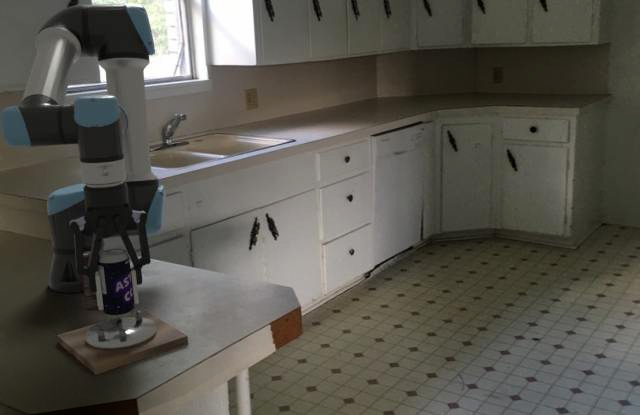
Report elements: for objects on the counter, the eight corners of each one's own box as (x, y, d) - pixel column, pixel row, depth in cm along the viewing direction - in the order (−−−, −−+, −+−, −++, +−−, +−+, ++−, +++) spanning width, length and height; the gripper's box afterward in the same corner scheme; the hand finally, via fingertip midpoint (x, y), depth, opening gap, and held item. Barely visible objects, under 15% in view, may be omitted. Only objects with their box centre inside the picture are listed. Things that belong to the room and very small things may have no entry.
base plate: (57, 342, 130) (56, 335, 130) (144, 316, 141) (143, 309, 141) (95, 374, 117) (94, 366, 116) (188, 343, 128) (187, 335, 128)
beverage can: (119, 321, 124) (112, 258, 121) (96, 316, 126) (89, 255, 124) (141, 310, 129) (135, 249, 126) (118, 305, 131) (112, 246, 128)
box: (118, 301, 150) (113, 249, 147) (112, 309, 146) (106, 255, 143) (91, 302, 150) (85, 250, 147) (84, 310, 146) (78, 256, 143)
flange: (74, 335, 129) (72, 320, 129) (138, 316, 138) (136, 302, 137) (102, 357, 120) (101, 341, 119) (169, 335, 128) (167, 320, 127)
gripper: (50, 193, 115) (67, 321, 120) (161, 180, 122) (172, 302, 127) (48, 185, 121) (64, 306, 127) (153, 174, 129) (164, 289, 134)
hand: (118, 304), depth 127 cm, fingers closed on beverage can, 6 cm apart
